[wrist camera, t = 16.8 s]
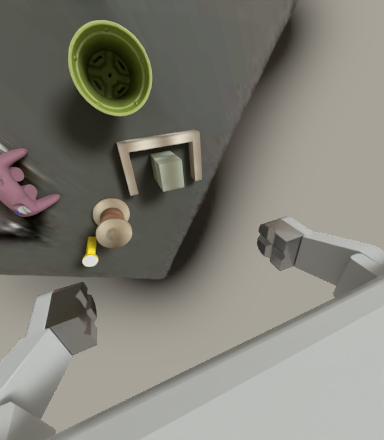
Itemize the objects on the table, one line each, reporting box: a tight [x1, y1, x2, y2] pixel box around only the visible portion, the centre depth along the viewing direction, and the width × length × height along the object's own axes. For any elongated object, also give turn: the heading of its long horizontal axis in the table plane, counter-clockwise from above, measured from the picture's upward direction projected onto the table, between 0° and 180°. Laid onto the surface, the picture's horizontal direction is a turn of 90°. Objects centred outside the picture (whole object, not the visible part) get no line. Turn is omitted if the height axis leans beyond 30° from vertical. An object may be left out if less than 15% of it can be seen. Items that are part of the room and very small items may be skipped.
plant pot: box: [68, 20, 152, 116], centre depth 29 cm, size 9×9×9 cm
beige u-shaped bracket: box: [116, 130, 202, 196], centre depth 41 cm, size 15×10×2 cm, turn 94°
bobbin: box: [93, 198, 132, 248], centre depth 40 cm, size 7×7×8 cm
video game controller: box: [0, 148, 60, 217], centre depth 33 cm, size 10×5×7 cm, turn 15°
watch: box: [82, 237, 98, 267], centre depth 43 cm, size 6×3×6 cm, turn 160°
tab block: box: [150, 150, 184, 192], centre depth 39 cm, size 4×5×7 cm
